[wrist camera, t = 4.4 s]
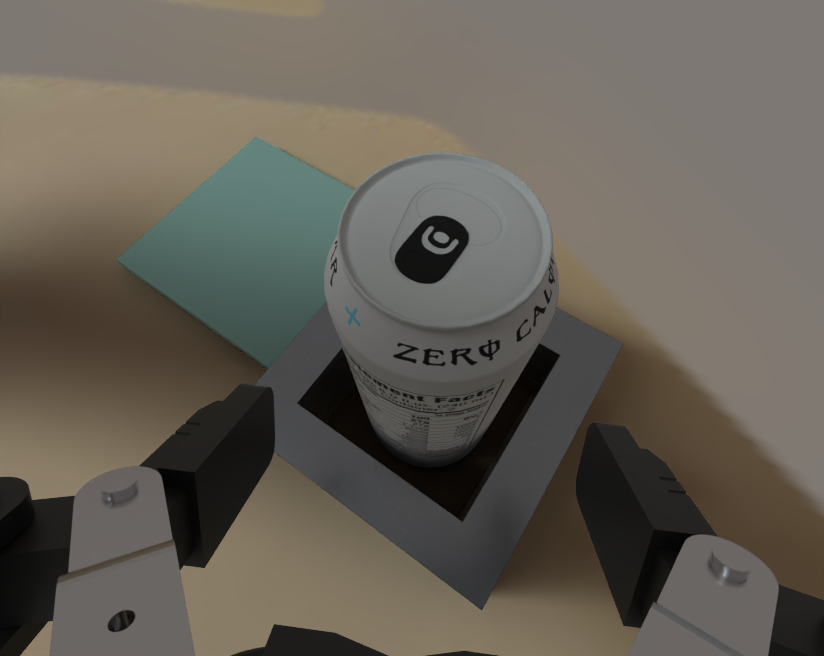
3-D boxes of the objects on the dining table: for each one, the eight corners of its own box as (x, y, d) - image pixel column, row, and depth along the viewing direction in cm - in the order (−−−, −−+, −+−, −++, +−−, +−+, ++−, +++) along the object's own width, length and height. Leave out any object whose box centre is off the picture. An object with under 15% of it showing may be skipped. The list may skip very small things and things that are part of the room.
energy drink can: (507, 395, 24) (625, 201, 11) (446, 496, 22) (495, 415, 8) (413, 337, 26) (408, 102, 12) (347, 426, 23) (252, 262, 10)
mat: (125, 268, 28) (115, 259, 27) (260, 148, 32) (255, 136, 31) (274, 373, 25) (268, 367, 24) (401, 225, 29) (401, 215, 28)
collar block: (264, 441, 23) (227, 415, 19) (400, 274, 27) (396, 220, 23) (467, 596, 20) (481, 610, 16) (584, 381, 24) (623, 343, 20)
